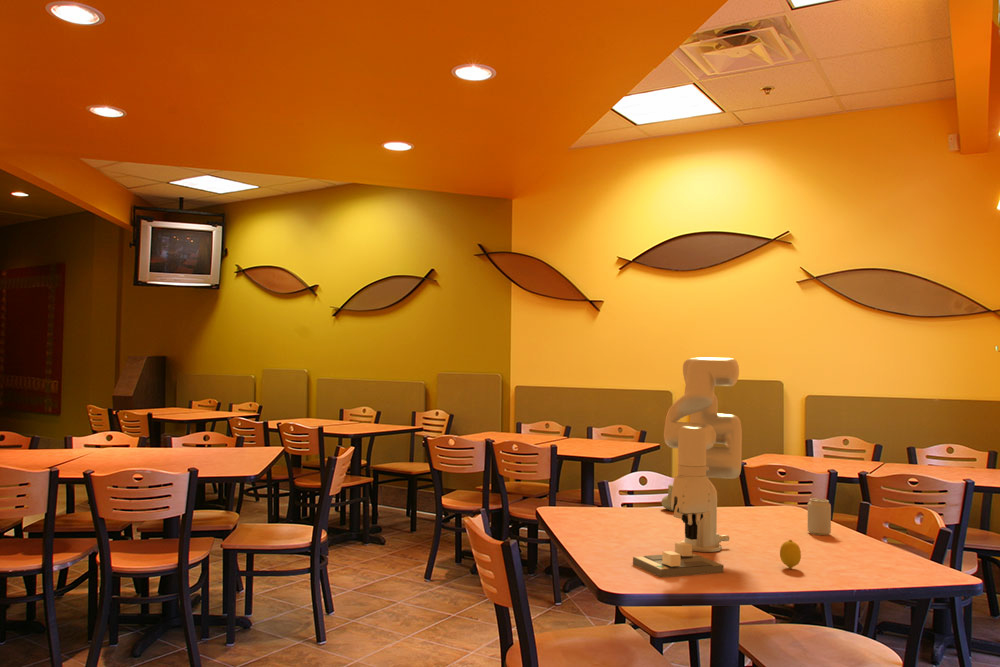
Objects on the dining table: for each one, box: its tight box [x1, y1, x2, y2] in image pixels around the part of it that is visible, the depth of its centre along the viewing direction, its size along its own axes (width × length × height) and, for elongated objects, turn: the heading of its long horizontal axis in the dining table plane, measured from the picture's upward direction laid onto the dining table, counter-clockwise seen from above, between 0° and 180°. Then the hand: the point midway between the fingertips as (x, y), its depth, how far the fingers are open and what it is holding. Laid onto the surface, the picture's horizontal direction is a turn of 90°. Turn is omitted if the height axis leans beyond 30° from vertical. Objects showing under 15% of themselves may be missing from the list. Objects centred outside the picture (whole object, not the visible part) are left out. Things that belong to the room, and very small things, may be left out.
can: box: [807, 498, 832, 536], centre depth 261 cm, size 8×8×12 cm
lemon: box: [779, 539, 802, 570], centre depth 210 cm, size 6×6×8 cm
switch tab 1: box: [662, 550, 681, 566], centre depth 200 cm, size 3×4×3 cm
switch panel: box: [632, 552, 724, 578], centre depth 206 cm, size 20×14×2 cm
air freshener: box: [661, 484, 674, 512], centre depth 300 cm, size 11×8×10 cm
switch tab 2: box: [674, 541, 693, 556], centre depth 212 cm, size 3×4×3 cm
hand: (691, 538), depth 204 cm, fingers closed
